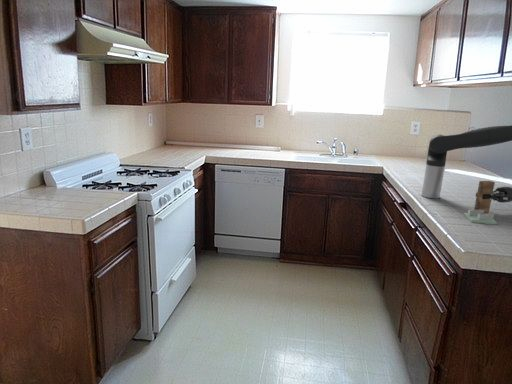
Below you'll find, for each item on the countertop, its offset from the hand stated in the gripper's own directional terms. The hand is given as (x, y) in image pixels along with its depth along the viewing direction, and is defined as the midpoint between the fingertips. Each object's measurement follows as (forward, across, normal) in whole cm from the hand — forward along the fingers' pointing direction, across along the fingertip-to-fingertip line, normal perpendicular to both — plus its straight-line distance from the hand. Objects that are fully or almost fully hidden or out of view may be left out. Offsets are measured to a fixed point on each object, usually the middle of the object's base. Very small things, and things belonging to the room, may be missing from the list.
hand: (479, 195), depth 188 cm
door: (-3, 0, +8) cm, 9 cm away
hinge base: (+8, +9, +8) cm, 14 cm away
